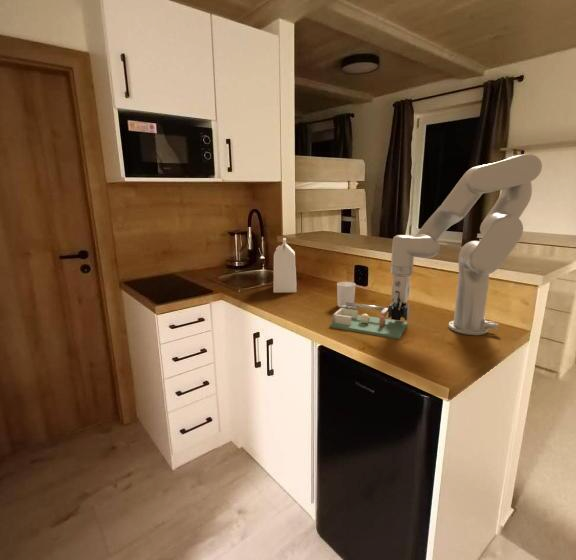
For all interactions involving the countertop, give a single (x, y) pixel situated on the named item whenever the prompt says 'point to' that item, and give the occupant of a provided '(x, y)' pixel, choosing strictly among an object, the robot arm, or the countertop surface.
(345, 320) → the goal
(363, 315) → the ball
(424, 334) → the countertop surface
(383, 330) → the board
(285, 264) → the milk
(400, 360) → the countertop surface
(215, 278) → the countertop surface
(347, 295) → the white cup
